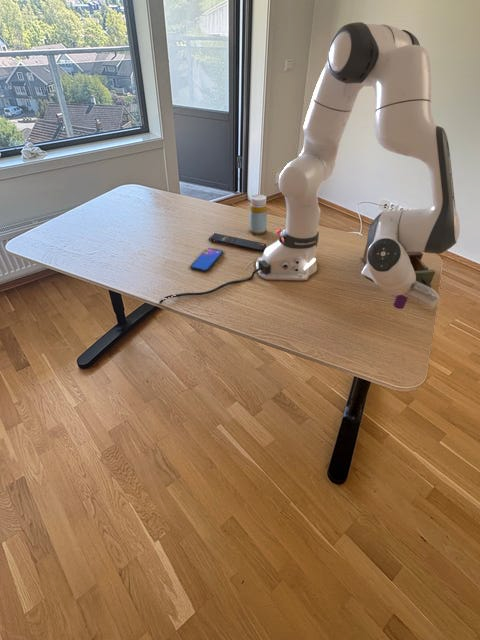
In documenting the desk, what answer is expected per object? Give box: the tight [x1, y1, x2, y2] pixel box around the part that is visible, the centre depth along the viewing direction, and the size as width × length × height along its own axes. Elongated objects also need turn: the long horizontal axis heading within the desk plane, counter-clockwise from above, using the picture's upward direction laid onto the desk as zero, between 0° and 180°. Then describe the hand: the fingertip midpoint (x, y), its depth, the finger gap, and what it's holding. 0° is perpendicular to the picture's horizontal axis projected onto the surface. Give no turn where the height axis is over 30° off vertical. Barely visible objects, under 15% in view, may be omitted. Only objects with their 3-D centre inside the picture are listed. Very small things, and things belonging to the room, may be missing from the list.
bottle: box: [249, 194, 268, 236], centre depth 145 cm, size 7×7×15 cm
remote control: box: [208, 232, 267, 252], centre depth 141 cm, size 5×24×1 cm, turn 65°
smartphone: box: [190, 247, 224, 272], centre depth 132 cm, size 7×1×15 cm
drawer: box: [409, 257, 436, 288], centre depth 114 cm, size 18×12×8 cm, turn 7°
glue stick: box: [392, 295, 409, 310], centre depth 99 cm, size 3×3×8 cm
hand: (404, 292), depth 99 cm, fingers closed on glue stick, 3 cm apart
